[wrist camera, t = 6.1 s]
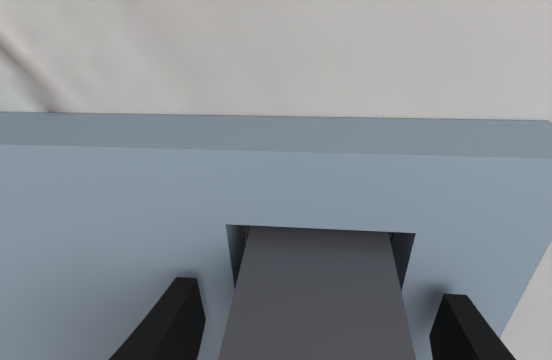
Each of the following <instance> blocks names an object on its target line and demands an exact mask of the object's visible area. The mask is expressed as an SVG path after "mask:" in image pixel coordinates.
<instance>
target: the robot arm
mask: <svg viewBox="0 0 552 360" xmlns="http://www.w3.org/2000/svg"><path fill="white" fill-rule="evenodd" d="M205 322H206V318H205V313H204V309H203V304H202V300H201V295H200V291H199V286H198V282H197V278H187V277H177V278H175V279H174V280H173V282H172V283H171V284H170V286H169V287H168V288H167V290H166V291H165V292H164V294H163V295H162V296H161V298H160V299H159V300H158V301H157V303H156V304H155V305H154V307H153V308H152V309H151V310H150V312H149V313H148V314H147V315H146V317H145V318H144V319H143V320H142V321H141V323H140V324H139V325H138V326H137V327H136V329H135V330H134V331H133V332H132V333H131V335H130V336H129V337H128V338H127V339H126V340H125V342H124V343H123V344H122V345H121V346H120V347H119V348H118V349H117V351H116V352H115V353H114V354H113V355H112V356H111V357H110V358H109V359H108V360H197V358H198V354H199V350H200V346H201V341H202V337H203V332H204V327H205ZM429 339H430V345H431V352H432V358H433V360H516V359H515V358H514V357H513V355H512V354H511V353H510V352H509V350H508V349H507V348H506V346H505V345H504V344H503V343H502V341H501V340H500V339H499V337H498V336H497V335H496V333H495V332H494V331H493V329H492V328H491V327H490V325H489V324H488V323H487V321H486V320H485V319H484V317H483V316H482V315H481V313H480V312H479V310H478V309H477V308H476V306H475V305H474V304H473V302H472V301H471V300H470V298H469V297H468V296H467V295H461V294H445V293H444V294H443V297H442V300H441V303H440V306H439V309H438V312H437V314H436V317H435V320H434V323H433V326H432V329H431V332H430V335H429Z"/></svg>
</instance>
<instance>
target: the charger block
mask: <svg viewBox="0 0 552 360" xmlns="http://www.w3.org/2000/svg"><path fill="white" fill-rule="evenodd" d="M218 360H416V357H415V352H414V348H413V343H412V339H411V334H410V329H409V325H408V320H407V316H406V311H405V306H404V302H403V297H402V293H401V288H400V284H399V279H398V274H397V270H396V265H395V261H394V256H393V251H392V247H391V242H390V238H389V233H388V232H382V231H360V230H339V229H317V228H295V227H274V226H252V225H250V229H249V233H248V237H247V242H246V246H245V250H244V254H243V258H242V262H241V267H240V271H239V275H238V279H237V283H236V288H235V292H234V296H233V300H232V304H231V308H230V313H229V317H228V321H227V325H226V329H225V333H224V338H223V342H222V346H221V350H220V354H219V358H218Z"/></svg>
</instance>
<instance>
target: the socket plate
mask: <svg viewBox="0 0 552 360" xmlns="http://www.w3.org/2000/svg"><path fill="white" fill-rule="evenodd" d="M243 225H252V226H274V227H295V228H317V229H339V230H360V231H382V232H394V235H393V240H392V245H391V247H392V251H393V256H394V261H395V265H396V270H397V274H398V279H399V284H400V288H401V293H402V297H403V302H404V306H405V311H406V316H407V320H408V325H409V329H410V334H411V339H412V343H413V348H414V352H415V357H416V360H433V358H432V352H431V345H430V339H429V335H430V332H431V329H432V326H433V323H434V320H435V317H436V314H437V312H438V309H439V306H440V303H441V300H442V297H443V294H444V293H445V294H461V295H467V296H468V297H469V298H470V300H471V301H472V302H473V304H474V305H475V306H476V308H477V309H478V310H479V312H480V313H481V315H482V316H483V317H484V319H485V320H486V321H487V323H488V324H489V325H490V327H491V328H492V329H493V331H494V332H495V333H496V335H497V336H498V337H499V338H500V336H501V334H502V332H503V330H504V329H505V327H506V325H507V323H508V321H509V319H510V317H511V315H512V314H513V312H514V310H515V308H516V306H517V304H518V302H519V300H520V299H521V297H522V295H523V293H524V291H525V289H526V287H527V285H528V284H529V282H530V280H531V278H532V276H533V274H534V272H535V270H536V269H537V267H538V265H539V263H540V261H541V259H542V257H543V255H544V254H545V252H546V250H547V248H548V246H549V244H550V242H551V240H552V123H551V122H550V121H529V120H467V119H404V118H342V117H279V116H217V115H154V114H91V113H29V112H0V360H108V359H109V358H110V357H111V356H112V355H113V354H114V353H115V352H116V351H117V349H118V348H119V347H120V346H121V345H122V344H123V343H124V342H125V340H126V339H127V338H128V337H129V336H130V335H131V333H132V332H133V331H134V330H135V329H136V327H137V326H138V325H139V324H140V323H141V321H142V320H143V319H144V318H145V317H146V315H147V314H148V313H149V312H150V310H151V309H152V308H153V307H154V305H155V304H156V303H157V301H158V300H159V299H160V298H161V296H162V295H163V294H164V292H165V291H166V290H167V288H168V287H169V286H170V284H171V283H172V282H173V280H174V279H175V278H177V277H187V278H197V282H198V286H199V291H200V295H201V300H202V304H203V309H204V313H205V318H206V322H205V327H204V332H203V337H202V341H201V346H200V350H199V354H198V358H197V360H218V358H219V354H220V350H221V346H222V342H223V338H224V333H225V329H226V325H227V321H228V317H229V313H230V308H231V304H232V300H233V296H234V292H235V288H236V283H237V279H238V275H239V271H240V267H241V262H242V258H243V254H244V250H245V240H244V230H243Z"/></svg>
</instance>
